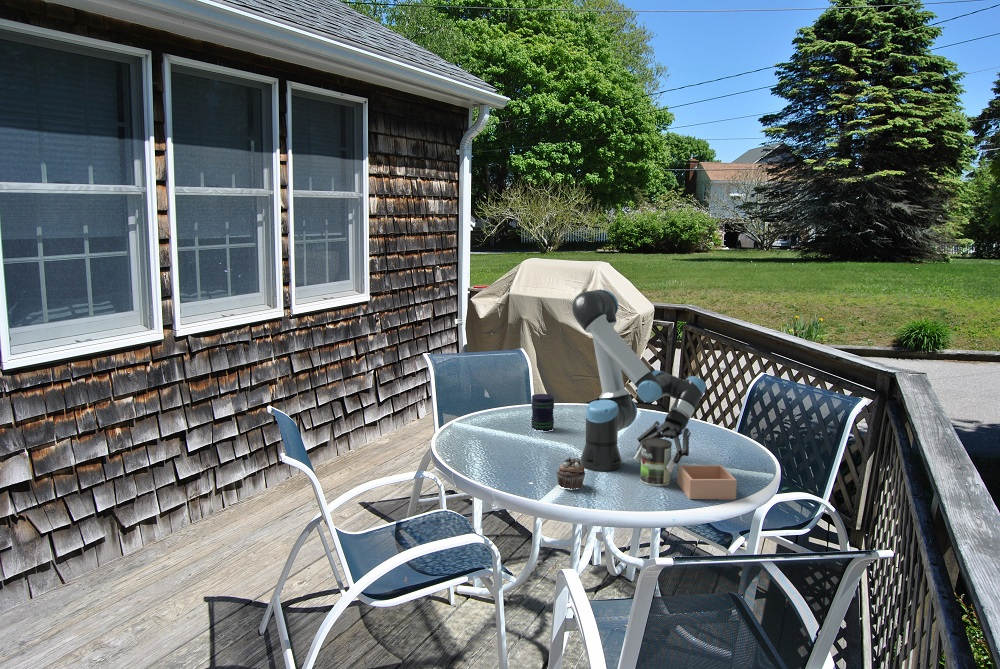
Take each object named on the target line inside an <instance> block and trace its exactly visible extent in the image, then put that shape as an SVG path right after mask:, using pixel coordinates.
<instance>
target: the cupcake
mask: <svg viewBox="0 0 1000 669" xmlns="http://www.w3.org/2000/svg"><path fill="white" fill-rule="evenodd" d="M585 476H586V470H585V467H584V466H583V465H582V464H581V458H579V457H576V458H571V457H568V458H566V459H565V460H564V462H563V463H561V464H559V467H558V470H557V471H556V478H557V484H558V486H559V485H560V486H561V487H564V488H570V489H571V488H572V489H574V488H575V489H576V488H581V487H582V488H583V484H584V481H585ZM582 488H581V489H582Z"/></svg>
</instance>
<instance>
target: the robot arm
mask: <svg viewBox="0 0 1000 669" xmlns="http://www.w3.org/2000/svg"><path fill="white" fill-rule="evenodd" d="M618 301H619V300H618V298H617V297H616V296H615V294H614V293H613V292H611V291H609V290H606V289H595V290H586V291H582V292H581V293H579V294H577V296H575V298H574V299H573V301H572V305H571V309H572V314H573V317H574V319H575V321H576V322H577V323H578V325H579V326H580V327H581V328H582V329H583V331H584V332H585V333H589V334H591V336H592V342H593V346H594V353H595V358H596V364H597V368H598V374H599V380H600V386H601V394H600V395H599V397H598V398H599V400H593V401H591V402H589V403H588V404H587V405H586V412H585V444H584V448H583V450H582V453H581V455H580V460H581V462H580V463H581V464H582V465H583V466H584V469H587V470H592V471H598V472H608V471H615V470H619V469H620V468H621V467H622V464H623V460H622V456H621V453H620V449H619V446H618V439H619V437H618V433H619V432H620V431H621V430H624V429H626V428H629V427H630V426H631V425H632V424H633V423H634V422H635V421H636V418H637V416H638V408H637V407H638V406H637V403H635V402H636V401H634V400H633V399H632V398H631V395H630V391H628V390H627V389H626V388H625V383H624V378H623V374H625V375H626V376H627V378H628V380H630V382H632V384H633V385H634V386H635V388H636V392H637V396H638V398H639V399H640V400H641V401H643V402H645V403H652V402H657V401H658V400H660V399H661V398H663V397H665V396H667V397H670V398H673V399H675V400H674V401H673V404H672V405H671V407H670V409H669V411H668V412H667V415H666V416H665V417H664V418H665V419H664V422H663V423H661V422H660V421H658V420H656V421H654V423H653V424H652V425H651V426H650V427H649V428H648V429H647V430H646V431H644V432H642V434H641V435H640V436H638V437H637V438H636V439H637V441H638V443H639V445H638V446H637V448H636V453H635V455H634V457H633V459H634V461H635V462H636V463H640V462H641V447H642V444H641V441H642V440H643V439H646V438H661V439H665V438H667V439H670V440H673V441H674V444H675V449H676V451H674V452H673V453H672V455H671V459H670V461H669V463H668V465H667V467H666V468H667V470H668V471H669V472H670V473H672V471H673V470H674V467H675V466H676V465H677V464H678V463H679V462H680V460H681V459H682V457H688V456H689V455H690V454H689V453H690V437H691V434H692V432H691V431H690V430H689V428H687V425H688V423H689V421H690V420H691V418H692V416H693V414H694V412H695V411H696V408H697V407H698V405H699V403H700V401H702V400H701V399H702V398H703V395H704V393H705V391H706V389H707V384H706V382H705V381H704V380H703V379H702V378H700V377H698V376H695V375H694V376H693V375H689V376H688V377H687V378H686V379H684V378H683V379H682V378H680V377H678V376H675V375H672V374H669V373H667V372H666V371H662V370H659V369H655V370H653V371H651V370H650V369H649V367H648V366H647V365H646V364H645V362H644V361H642V359H641V358H640V357H639V356H638V355H637V353H635V351H634V350H633V349H632V348H631V346H629V344H628V343H627V342H626V341H625V340H624V339H623V337H622V336H621V335H620V334H619V333H618V331H617V330H616V329H615V326H616V324H617V322H618V321H617V313H618V311H619V302H618ZM681 435H682V444H681V439H680V436H681ZM678 465H679V464H678Z"/></svg>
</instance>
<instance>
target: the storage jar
mask: <svg viewBox="0 0 1000 669" xmlns="http://www.w3.org/2000/svg"><path fill="white" fill-rule="evenodd" d="M554 399H555V396H554V395H552V394H548V393H538V394H537V393H535V394H533V395H531V409H532V410H531V411H532V412H531V414H532V416H531V423H530V424H531V429H532V428H534V429H536V430H543V431H549V430H552V429H554V425H555V417H554V409H555V400H554Z"/></svg>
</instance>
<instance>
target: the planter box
mask: <svg viewBox="0 0 1000 669" xmlns="http://www.w3.org/2000/svg"><path fill="white" fill-rule="evenodd" d="M676 481H677V482H676V484H677V485H678V487H679V488H680V490H682V492H683V491H684V492H683V493H684V494H685V496H686V495H687V496H686V497H687V499H688V500H690V499H719V500H737V487H738V486H737V483H738V480H737V478H735V477H734V476H733V474H731V473H730V472H729V471H728V470H727V469H726V468H725V467H724V466H723V465H722V464H719V465H717V464H715V465H712V464H703V465H702V464H695V465H693V464H691V465H690V464H689V465H688V464H683V465H682V464H681V465H680V464H678V465H677V480H676ZM719 500H718V501H719Z"/></svg>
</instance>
